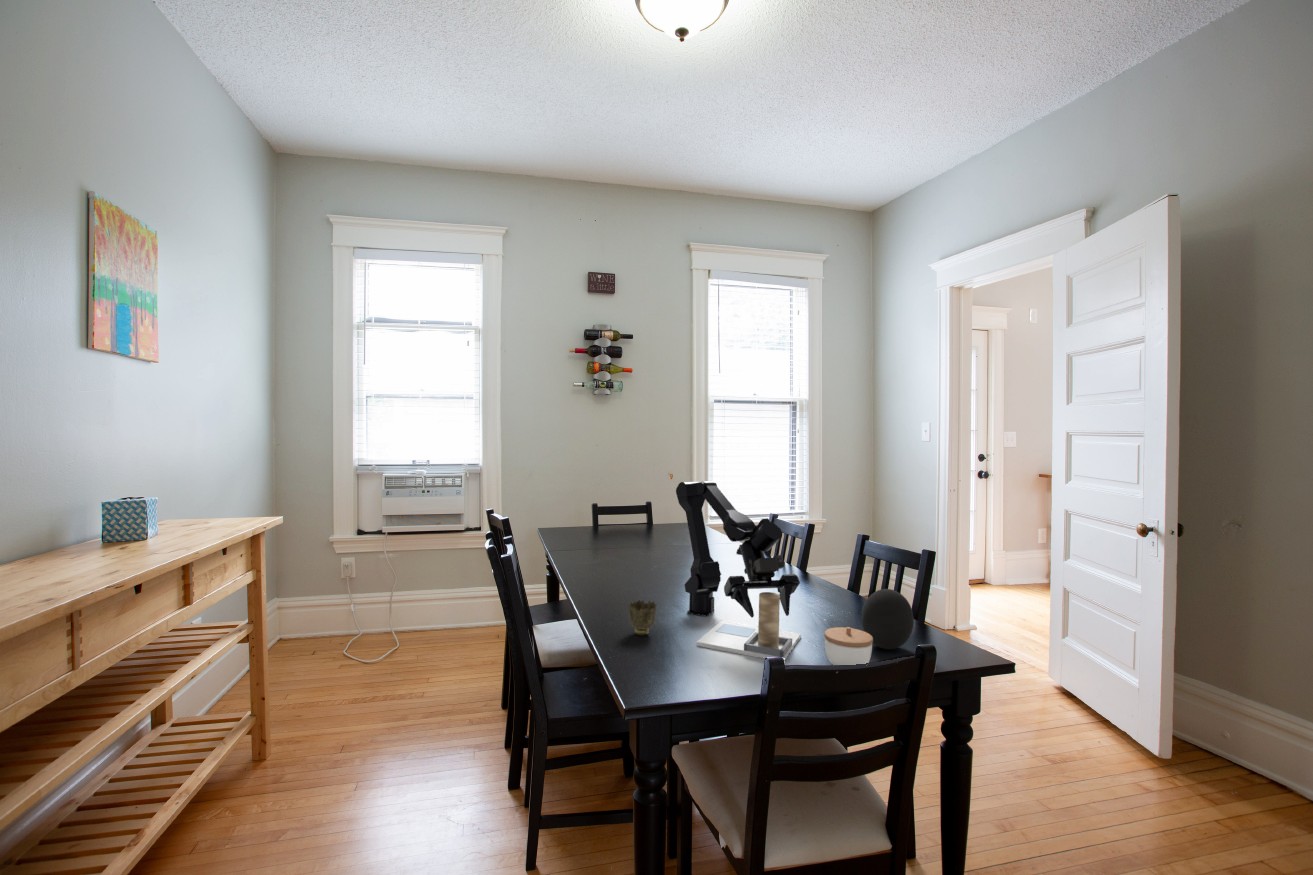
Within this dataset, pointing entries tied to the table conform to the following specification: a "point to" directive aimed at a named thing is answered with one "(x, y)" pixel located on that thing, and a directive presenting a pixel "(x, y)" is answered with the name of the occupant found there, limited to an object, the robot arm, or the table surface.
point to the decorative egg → (887, 618)
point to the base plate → (746, 640)
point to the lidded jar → (848, 646)
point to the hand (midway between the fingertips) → (770, 615)
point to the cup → (642, 616)
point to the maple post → (768, 620)
